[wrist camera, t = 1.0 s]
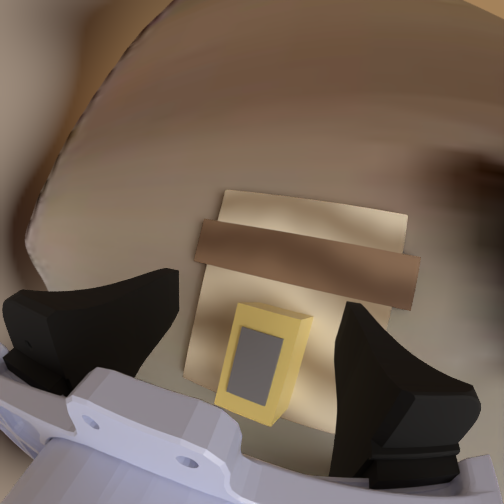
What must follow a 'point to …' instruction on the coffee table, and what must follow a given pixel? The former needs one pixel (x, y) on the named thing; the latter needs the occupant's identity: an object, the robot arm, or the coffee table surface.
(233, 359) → the stud finder
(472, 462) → the robot arm
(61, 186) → the coffee table surface
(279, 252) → the subfloor
